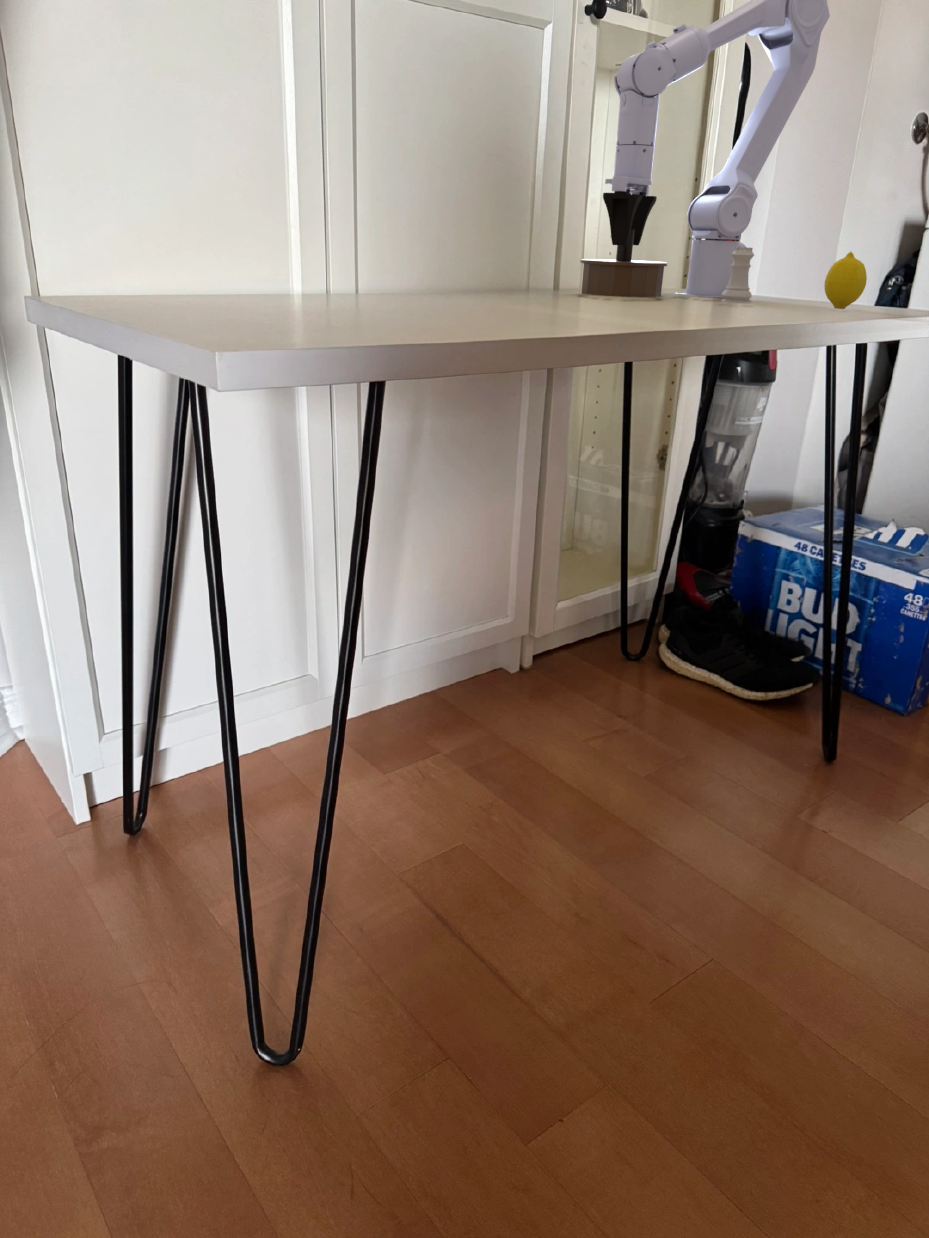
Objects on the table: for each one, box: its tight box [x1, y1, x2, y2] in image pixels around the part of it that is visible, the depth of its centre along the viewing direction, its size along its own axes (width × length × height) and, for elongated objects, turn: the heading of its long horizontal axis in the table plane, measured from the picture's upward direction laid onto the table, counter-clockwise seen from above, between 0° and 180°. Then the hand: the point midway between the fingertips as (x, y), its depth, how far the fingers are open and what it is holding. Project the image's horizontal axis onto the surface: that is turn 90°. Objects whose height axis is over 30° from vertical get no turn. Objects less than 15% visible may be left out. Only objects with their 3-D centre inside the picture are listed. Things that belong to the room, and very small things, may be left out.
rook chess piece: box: [720, 246, 755, 304], centre depth 130 cm, size 4×4×8 cm
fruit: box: [823, 251, 868, 310], centre depth 127 cm, size 6×6×8 cm
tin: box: [581, 263, 665, 298], centre depth 139 cm, size 12×12×5 cm
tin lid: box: [579, 230, 668, 267], centre depth 138 cm, size 14×14×6 cm
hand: (625, 245), depth 137 cm, fingers open, 7 cm apart
